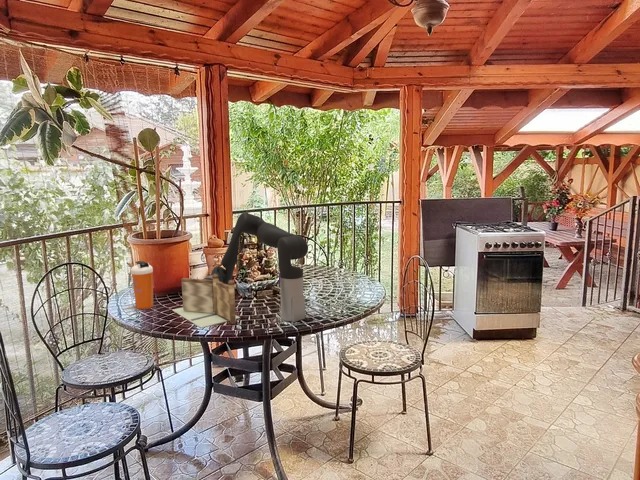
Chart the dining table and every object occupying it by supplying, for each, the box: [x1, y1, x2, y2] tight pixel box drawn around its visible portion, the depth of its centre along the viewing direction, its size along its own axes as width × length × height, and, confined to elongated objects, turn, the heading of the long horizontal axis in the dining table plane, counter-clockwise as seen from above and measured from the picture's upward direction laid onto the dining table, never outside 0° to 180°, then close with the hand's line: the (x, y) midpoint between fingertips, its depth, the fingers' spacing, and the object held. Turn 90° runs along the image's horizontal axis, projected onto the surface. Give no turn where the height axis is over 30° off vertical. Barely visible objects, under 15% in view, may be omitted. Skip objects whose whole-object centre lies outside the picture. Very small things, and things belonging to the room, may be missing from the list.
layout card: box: [171, 306, 241, 329], centre depth 186 cm, size 28×17×1 cm, turn 40°
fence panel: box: [180, 277, 214, 313], centre depth 186 cm, size 14×1×14 cm, turn 74°
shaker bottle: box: [130, 260, 154, 310], centre depth 194 cm, size 9×9×20 cm
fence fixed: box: [212, 274, 237, 325], centre depth 178 cm, size 16×2×17 cm, turn 40°
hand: (192, 297), depth 188 cm, fingers closed
